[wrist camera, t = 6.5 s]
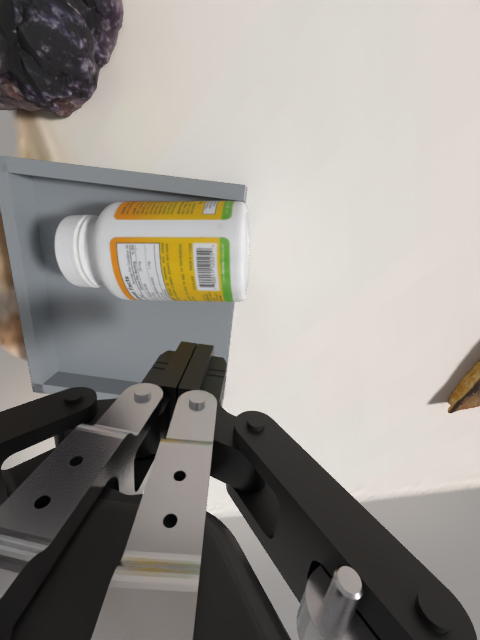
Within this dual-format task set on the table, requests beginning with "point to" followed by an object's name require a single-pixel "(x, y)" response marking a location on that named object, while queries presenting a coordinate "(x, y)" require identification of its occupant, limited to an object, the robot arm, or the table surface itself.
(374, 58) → the table surface
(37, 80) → the crystal cluster
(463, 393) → the shard
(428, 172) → the table surface
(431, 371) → the table surface
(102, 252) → the supplement bottle
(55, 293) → the tray
